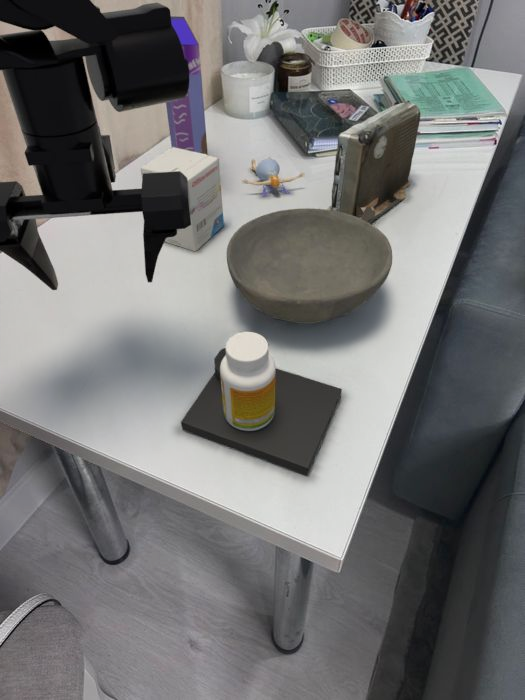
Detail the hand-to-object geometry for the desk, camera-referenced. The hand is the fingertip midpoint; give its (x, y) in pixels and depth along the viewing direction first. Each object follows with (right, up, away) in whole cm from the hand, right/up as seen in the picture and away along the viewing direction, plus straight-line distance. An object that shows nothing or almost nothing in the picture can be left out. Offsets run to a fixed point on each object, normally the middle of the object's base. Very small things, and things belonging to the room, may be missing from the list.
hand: (103, 283), depth 51 cm
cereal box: (+2, +25, +45) cm, 52 cm away
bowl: (+22, 0, +19) cm, 29 cm away
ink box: (+4, +12, +31) cm, 34 cm away
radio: (+34, +19, +38) cm, 55 cm away
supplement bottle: (+14, -13, +3) cm, 20 cm away
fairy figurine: (+17, +24, +43) cm, 52 cm away
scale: (+16, -13, +5) cm, 21 cm away
